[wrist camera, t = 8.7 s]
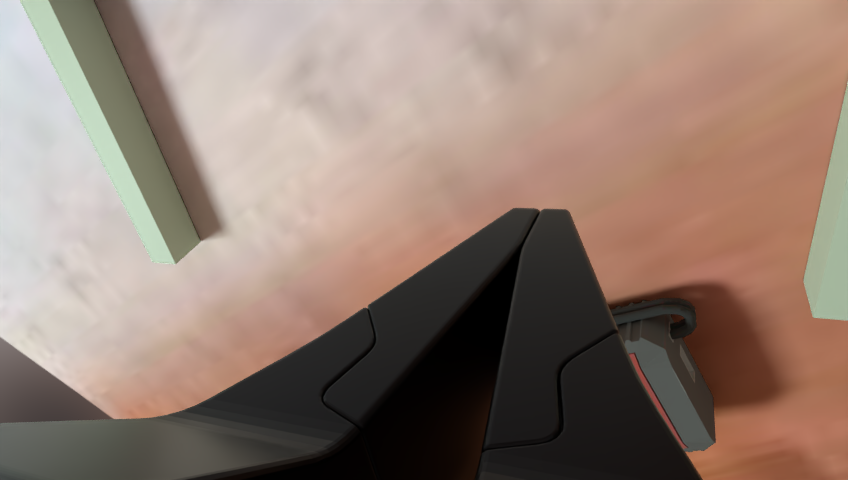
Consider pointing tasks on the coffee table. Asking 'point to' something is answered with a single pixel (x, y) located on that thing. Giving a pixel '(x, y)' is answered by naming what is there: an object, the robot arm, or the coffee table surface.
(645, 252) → the coffee table surface
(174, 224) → the green u-shaped bracket
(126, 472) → the robot arm
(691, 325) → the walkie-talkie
